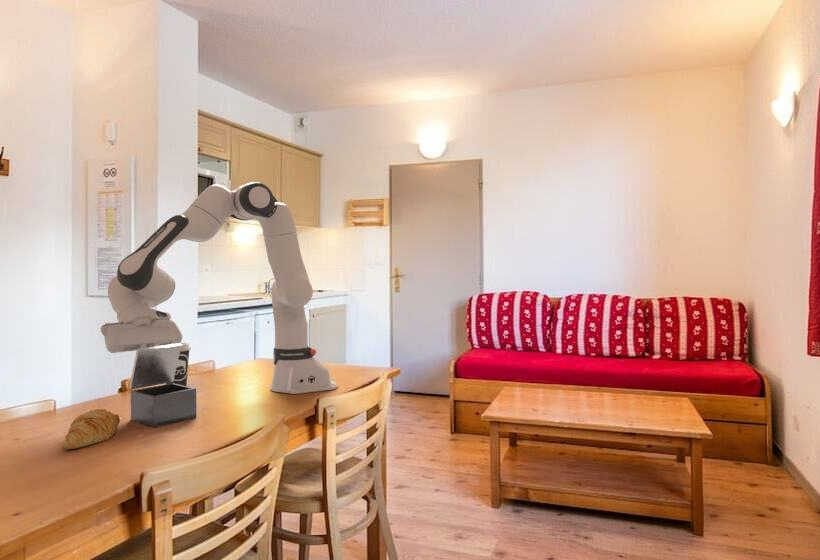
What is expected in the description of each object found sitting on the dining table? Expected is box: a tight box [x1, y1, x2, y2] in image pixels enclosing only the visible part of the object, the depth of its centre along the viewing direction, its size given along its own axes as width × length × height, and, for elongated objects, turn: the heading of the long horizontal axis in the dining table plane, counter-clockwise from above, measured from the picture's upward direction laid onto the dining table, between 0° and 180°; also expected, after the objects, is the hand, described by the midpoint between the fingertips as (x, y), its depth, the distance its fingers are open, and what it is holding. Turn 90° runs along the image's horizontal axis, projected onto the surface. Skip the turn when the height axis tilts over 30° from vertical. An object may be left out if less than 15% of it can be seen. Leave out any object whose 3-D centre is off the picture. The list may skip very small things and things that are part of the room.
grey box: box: [130, 383, 197, 428], centre depth 145 cm, size 12×12×8 cm
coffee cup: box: [165, 342, 191, 386], centre depth 185 cm, size 10×10×15 cm
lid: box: [128, 344, 181, 390], centre depth 147 cm, size 12×12×2 cm
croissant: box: [62, 409, 121, 450], centre depth 128 cm, size 21×10×8 cm, turn 3°
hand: (153, 359), depth 147 cm, fingers closed, pressing on lid
